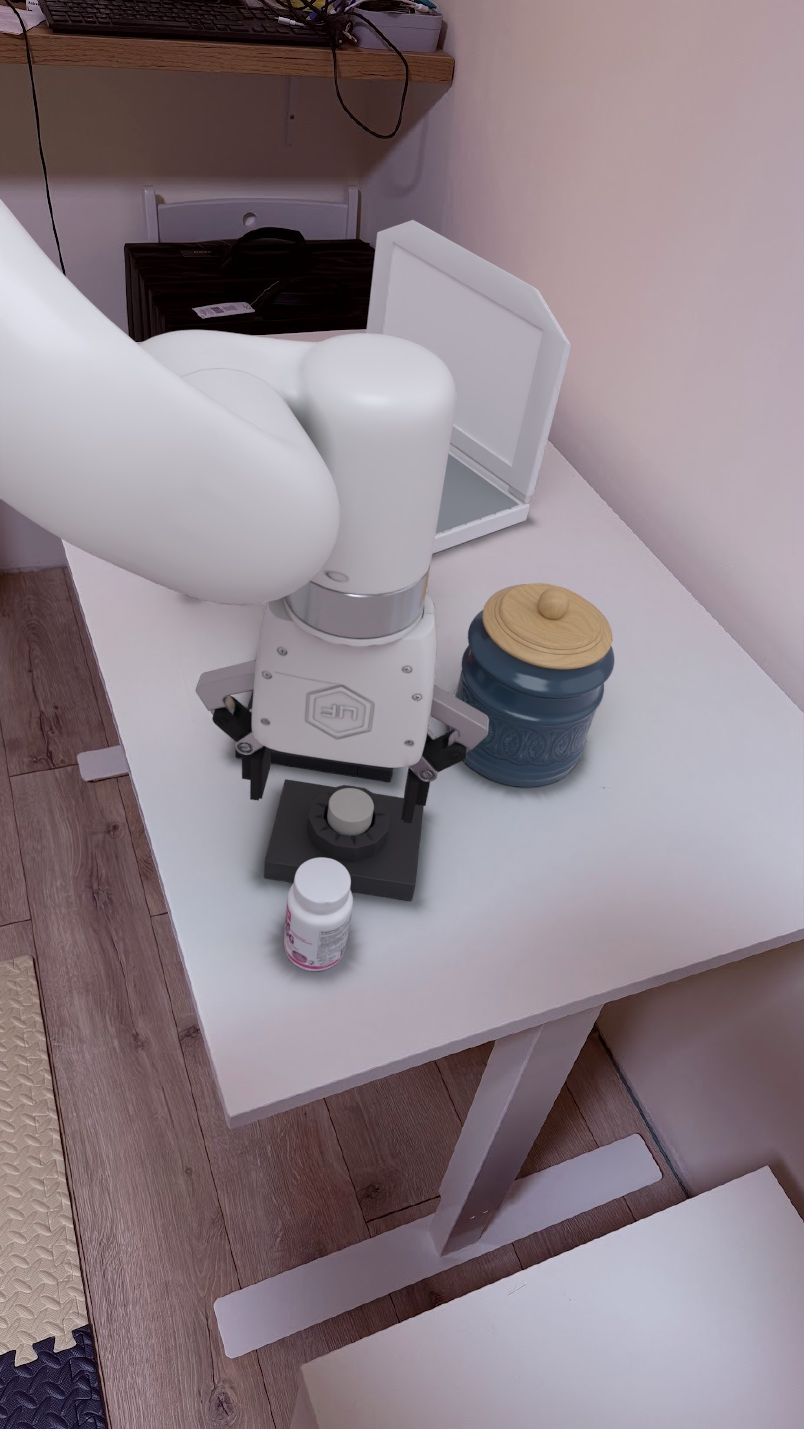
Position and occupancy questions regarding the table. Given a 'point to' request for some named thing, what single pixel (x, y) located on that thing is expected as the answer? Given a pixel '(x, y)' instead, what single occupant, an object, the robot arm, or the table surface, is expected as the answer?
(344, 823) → the button
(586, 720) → the canister
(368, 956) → the table surface
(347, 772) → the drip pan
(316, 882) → the pill bottle
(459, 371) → the laptop
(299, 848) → the control block
